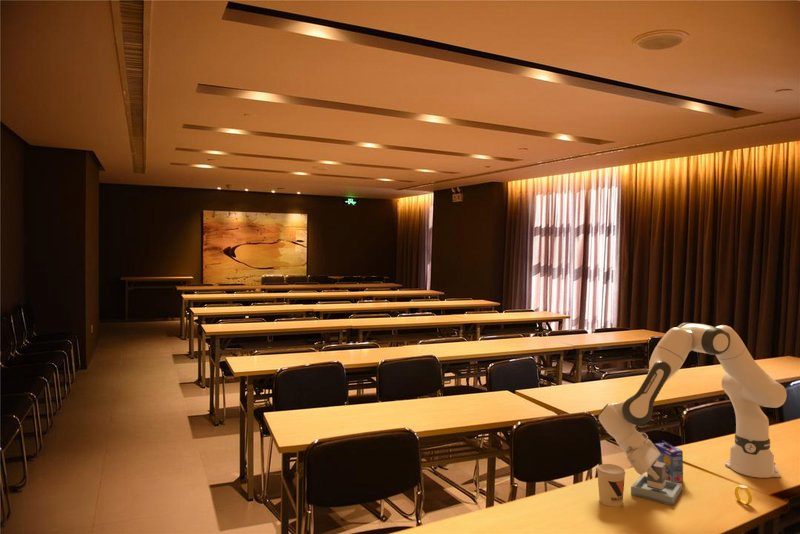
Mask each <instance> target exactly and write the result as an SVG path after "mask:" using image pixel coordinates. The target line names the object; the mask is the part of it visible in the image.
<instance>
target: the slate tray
mask: <svg viewBox="0 0 800 534" xmlns="http://www.w3.org/2000/svg"><path fill="white" fill-rule="evenodd" d="M682 487H683V485H682V483H681V482H672V481H668V480H666V486H665V487H664V489H663V490H662V491H661V490H657V489H653V488H649V487H647V475H646V474H642V475H640V476H639V477H638V478H637V479H636V481H635V482H634V483H632V485H631V486H630V495H631V496H634V497H638V498H642V499H646V500H650V501H653V502H656V503H661V504H665V505H668V506H674V504H675V503H676V502H677V500H678V498H679V497H680V495H681V493H682V490H683V489H682Z"/></svg>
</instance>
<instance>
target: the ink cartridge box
mask: <svg viewBox="0 0 800 534" xmlns="http://www.w3.org/2000/svg"><path fill="white" fill-rule="evenodd" d="M654 445H655V447H656V448H657V449H658V450H659V452H660V456H659V458H658V459H657V460H658V461H659V462H662V463H666V480H667V481H672V482H676V483H681V482H684V460H683V457H684V455H683V454H684V453H683V450H682V449H680V448H677V447H675V446H673V445H672V444H670V443H669V442H667V441H665V440H663V439H662V440H661V442H658V443H657V442H655V443H654Z"/></svg>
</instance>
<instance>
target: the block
mask: <svg viewBox="0 0 800 534" xmlns="http://www.w3.org/2000/svg"><path fill="white" fill-rule="evenodd" d="M651 467H652V469H653V470H654V471H655V472H656V473H658V474H659V475H660V478H659V479H658V480H655V479H654V478H653V476H651V475H649V474H648V473H647V472H646V473H647V487H649V488H653V489H657V490H661V491H662V490H663V489H664V487H665V486H666V463H662V462H657V461H655V462H654V463H653V465H652V466H651Z"/></svg>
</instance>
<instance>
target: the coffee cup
mask: <svg viewBox="0 0 800 534" xmlns="http://www.w3.org/2000/svg"><path fill="white" fill-rule="evenodd" d="M596 471H597V484H598V485H597V487H598V496H599V497H598V498H599V502H600V503H601V504H603V505H605V506H607V507H612V508H614V507H615V508H616V507H621V506H622V505H623V504H624V503H623V501H624V491H625V490H624V489H625V478H626V477H625V475H626V471H625V469H624V468H623V467H622V466H620V465H617V464H612V463H603V464H602V463H601V464H599V465H598V466H597V468H596Z"/></svg>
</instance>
